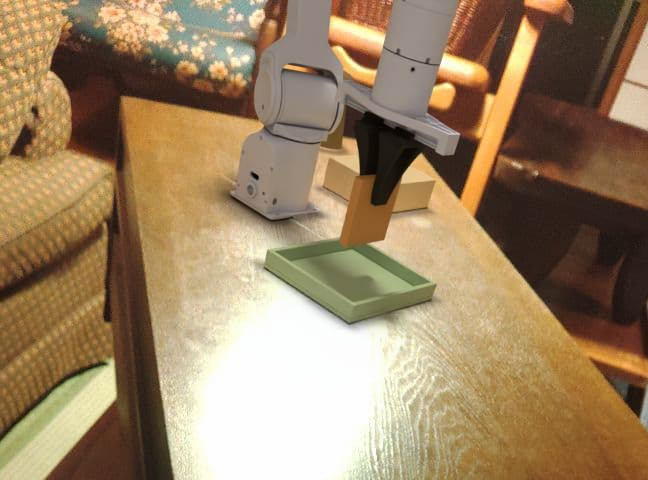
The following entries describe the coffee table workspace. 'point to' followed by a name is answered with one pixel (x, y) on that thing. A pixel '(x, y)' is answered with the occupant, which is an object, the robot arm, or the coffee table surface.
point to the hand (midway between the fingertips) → (372, 200)
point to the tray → (349, 277)
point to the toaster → (411, 189)
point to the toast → (366, 214)
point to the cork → (337, 136)
